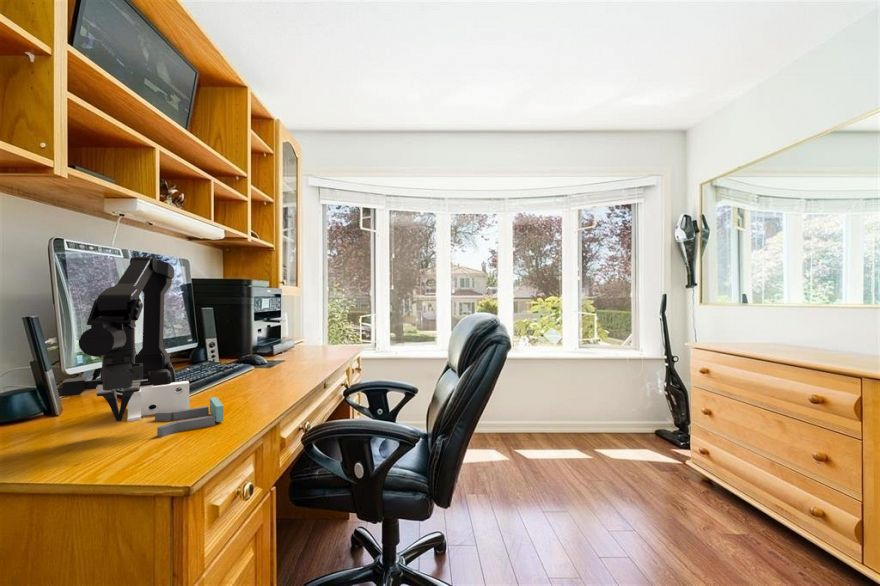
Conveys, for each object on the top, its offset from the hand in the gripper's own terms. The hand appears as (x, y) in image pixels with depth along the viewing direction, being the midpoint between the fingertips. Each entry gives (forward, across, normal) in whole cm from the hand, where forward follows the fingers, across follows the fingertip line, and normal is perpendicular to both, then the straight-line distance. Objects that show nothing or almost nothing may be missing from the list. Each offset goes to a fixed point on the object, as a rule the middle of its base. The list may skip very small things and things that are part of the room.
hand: (119, 421), depth 89 cm
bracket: (0, +8, +17) cm, 19 cm away
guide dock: (+3, +7, 0) cm, 8 cm away
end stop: (+3, +19, 0) cm, 19 cm away
